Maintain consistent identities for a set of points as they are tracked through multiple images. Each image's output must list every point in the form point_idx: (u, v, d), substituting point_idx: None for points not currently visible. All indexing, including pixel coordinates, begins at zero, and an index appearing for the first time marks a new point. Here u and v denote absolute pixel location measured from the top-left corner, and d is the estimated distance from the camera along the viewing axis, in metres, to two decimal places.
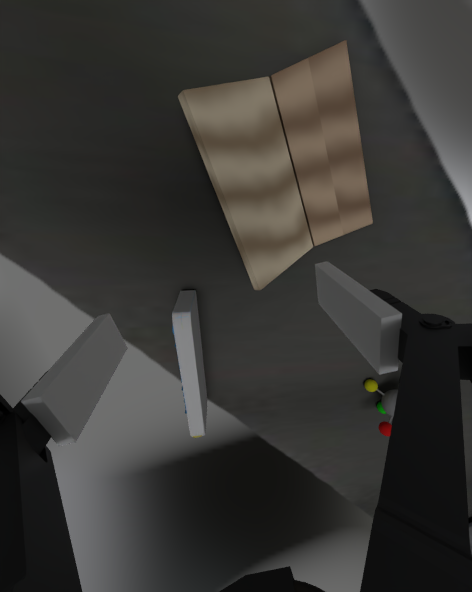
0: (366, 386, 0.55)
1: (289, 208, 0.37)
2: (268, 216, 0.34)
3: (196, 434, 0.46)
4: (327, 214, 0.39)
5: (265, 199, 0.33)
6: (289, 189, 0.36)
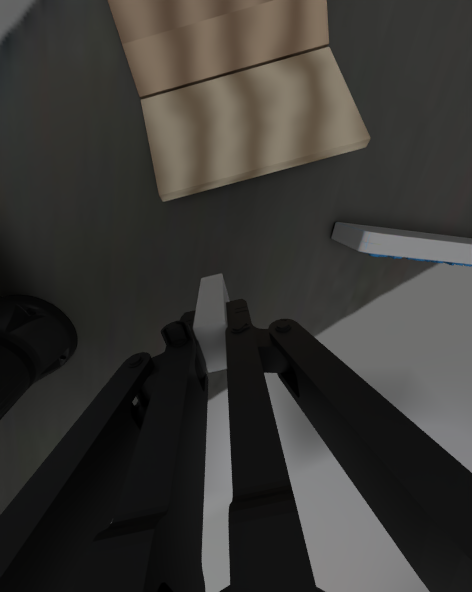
0: None
1: (273, 83, 0.29)
2: (280, 115, 0.28)
3: None
4: (290, 18, 0.28)
5: (260, 117, 0.28)
6: (251, 81, 0.30)
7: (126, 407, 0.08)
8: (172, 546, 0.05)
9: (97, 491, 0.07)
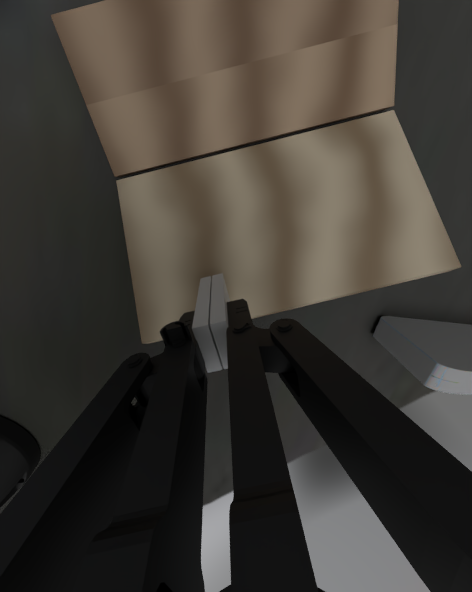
0: None
1: (312, 165, 0.20)
2: (323, 219, 0.19)
3: None
4: (341, 70, 0.19)
5: (293, 221, 0.19)
6: (280, 160, 0.20)
7: (125, 407, 0.08)
8: (172, 545, 0.05)
9: (96, 491, 0.07)
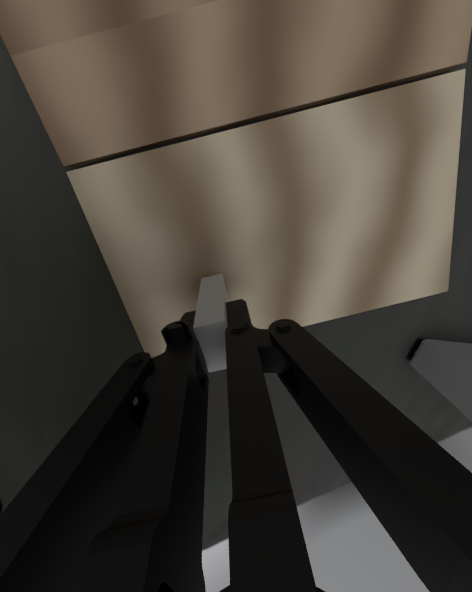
0: None
1: (337, 162, 0.15)
2: (336, 240, 0.17)
3: None
4: (395, 4, 0.13)
5: (303, 241, 0.17)
6: (297, 151, 0.15)
7: (127, 407, 0.08)
8: (172, 546, 0.05)
9: (97, 491, 0.07)
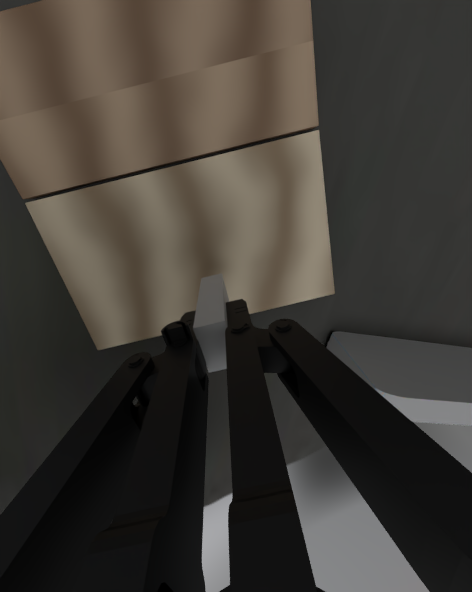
0: None
1: (230, 196, 0.20)
2: (238, 253, 0.22)
3: None
4: (257, 88, 0.18)
5: (211, 254, 0.22)
6: (199, 188, 0.20)
7: (127, 407, 0.08)
8: (172, 546, 0.05)
9: (97, 491, 0.07)
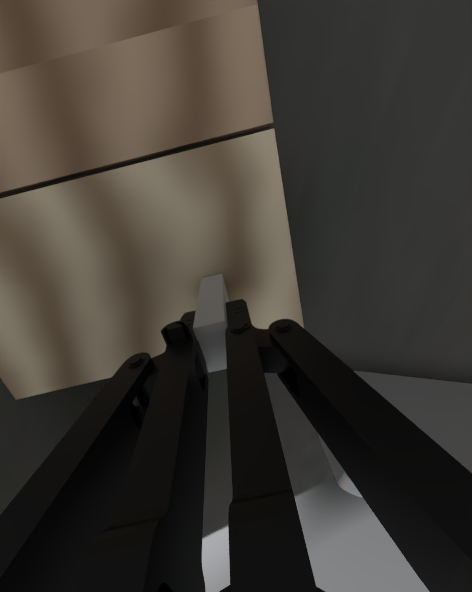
0: None
1: (163, 215, 0.16)
2: (178, 286, 0.17)
3: None
4: (185, 72, 0.13)
5: (145, 287, 0.17)
6: (120, 205, 0.15)
7: (126, 407, 0.08)
8: (172, 546, 0.05)
9: (97, 491, 0.07)
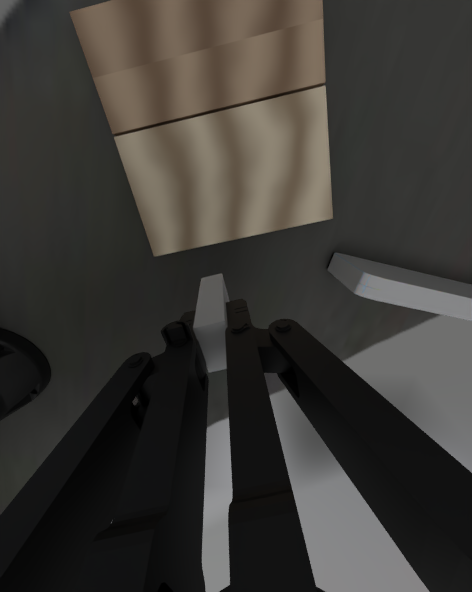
0: None
1: (258, 136, 0.28)
2: (261, 182, 0.30)
3: None
4: (282, 53, 0.25)
5: (242, 182, 0.30)
6: (236, 129, 0.28)
7: (126, 407, 0.08)
8: (172, 546, 0.05)
9: (97, 491, 0.07)
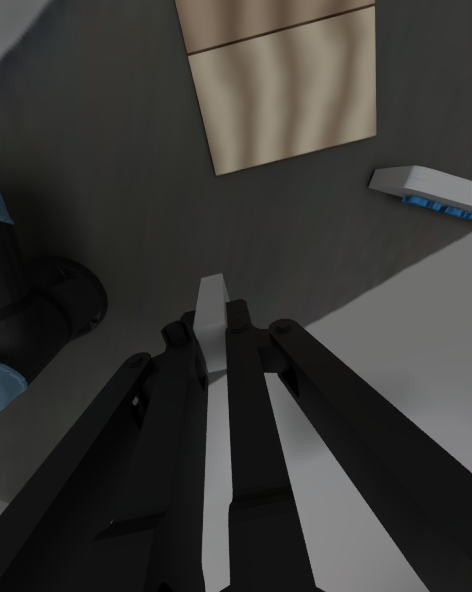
0: None
1: (315, 54, 0.32)
2: (315, 99, 0.33)
3: None
4: None
5: (298, 100, 0.33)
6: (296, 48, 0.31)
7: (127, 407, 0.08)
8: (172, 546, 0.05)
9: (97, 491, 0.07)
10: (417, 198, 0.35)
